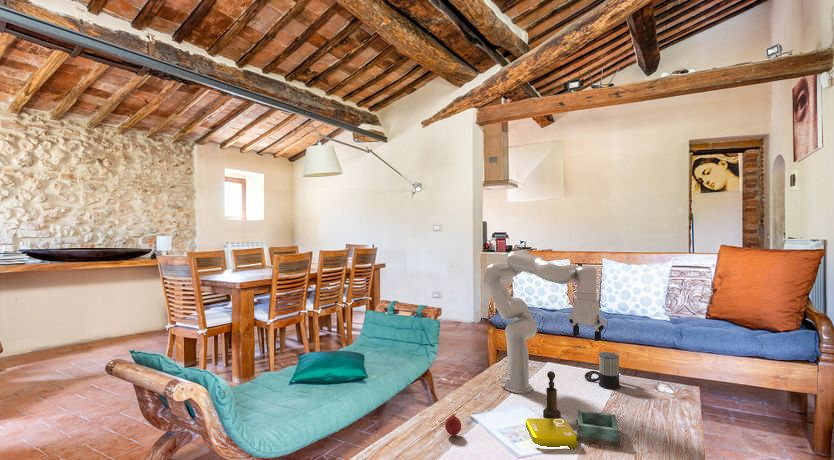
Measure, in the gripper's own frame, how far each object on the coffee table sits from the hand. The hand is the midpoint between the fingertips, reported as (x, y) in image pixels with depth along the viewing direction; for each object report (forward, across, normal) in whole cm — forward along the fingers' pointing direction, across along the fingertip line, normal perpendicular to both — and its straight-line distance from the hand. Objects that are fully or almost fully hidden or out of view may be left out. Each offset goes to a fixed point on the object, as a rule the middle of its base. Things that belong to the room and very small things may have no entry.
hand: (586, 338), depth 173 cm
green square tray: (+29, +15, -17) cm, 37 cm away
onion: (+30, -16, -59) cm, 68 cm away
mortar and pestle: (+30, -4, -18) cm, 35 cm away
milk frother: (+30, -12, +31) cm, 45 cm away
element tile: (+30, +6, -32) cm, 44 cm away
